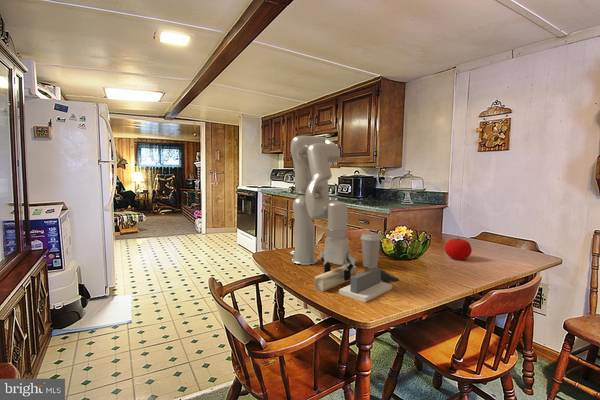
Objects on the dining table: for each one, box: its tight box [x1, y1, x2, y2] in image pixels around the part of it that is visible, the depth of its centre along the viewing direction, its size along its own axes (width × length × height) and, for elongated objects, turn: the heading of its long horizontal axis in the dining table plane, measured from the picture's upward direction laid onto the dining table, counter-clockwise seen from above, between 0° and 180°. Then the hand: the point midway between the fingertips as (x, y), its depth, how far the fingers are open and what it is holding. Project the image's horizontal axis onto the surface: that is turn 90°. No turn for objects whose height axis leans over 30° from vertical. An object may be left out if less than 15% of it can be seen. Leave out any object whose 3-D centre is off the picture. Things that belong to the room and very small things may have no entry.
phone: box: [364, 269, 400, 283], centre depth 134 cm, size 8×1×15 cm
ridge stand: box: [338, 266, 393, 303], centre depth 116 cm, size 11×18×7 cm, turn 135°
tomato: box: [444, 237, 473, 260], centre depth 161 cm, size 11×12×10 cm
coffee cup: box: [360, 232, 382, 269], centre depth 147 cm, size 10×10×15 cm
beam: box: [313, 265, 357, 293], centre depth 125 cm, size 4×22×5 cm, turn 137°
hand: (337, 277), depth 125 cm, fingers open, 9 cm apart
